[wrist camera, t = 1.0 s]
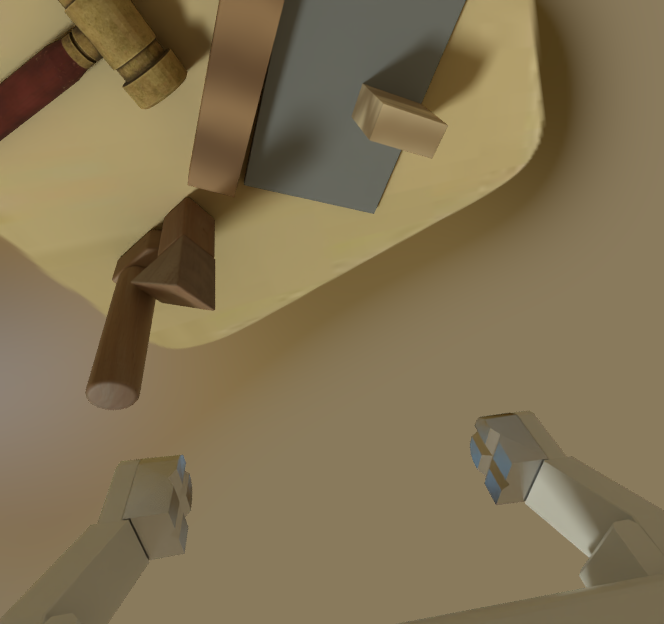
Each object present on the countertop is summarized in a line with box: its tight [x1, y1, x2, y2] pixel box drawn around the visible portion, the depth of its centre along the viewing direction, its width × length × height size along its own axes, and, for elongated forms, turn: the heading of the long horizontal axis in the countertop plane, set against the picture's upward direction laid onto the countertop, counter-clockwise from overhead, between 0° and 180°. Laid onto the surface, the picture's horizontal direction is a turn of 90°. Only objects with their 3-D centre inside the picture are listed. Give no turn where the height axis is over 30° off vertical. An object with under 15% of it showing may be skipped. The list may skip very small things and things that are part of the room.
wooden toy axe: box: [85, 197, 215, 410], centre depth 35 cm, size 4×11×18 cm, turn 126°
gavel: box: [0, 0, 187, 141], centre depth 30 cm, size 21×5×10 cm
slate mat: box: [244, 0, 466, 214], centre depth 36 cm, size 20×14×1 cm
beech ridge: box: [351, 84, 448, 159], centre depth 35 cm, size 3×6×6 cm, turn 71°
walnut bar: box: [188, 0, 284, 197], centre depth 31 cm, size 20×4×4 cm, turn 158°
